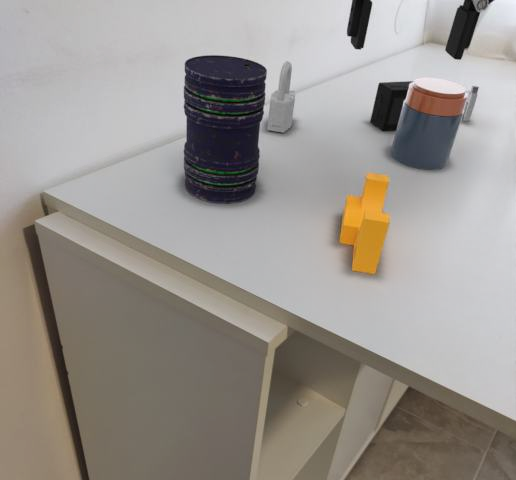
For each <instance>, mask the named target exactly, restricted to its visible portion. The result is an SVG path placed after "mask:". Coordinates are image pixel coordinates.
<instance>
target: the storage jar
mask: <svg viewBox="0 0 516 480" xmlns="http://www.w3.org/2000/svg"><path fill="white" fill-rule="evenodd" d="M184 73H185V75H184V84H183V85H184V86H183V99H184V101H183V103H184V104H183V110H184V116H185V117H186V141H185V143H184V146H183V169H184V176H185V178H184V188H185V190H186V192H187V193H188V194H190V195H191V196H192V197H194V198H196V199H198V200H202V201H204V202H208V203H214V204H235V203H241V202H244V201H247V200H249V199H251V198H252V197H253V196H254V195H255V194H256V191H257V183H256V182H257V179H258V174H259V169H260V157H261V156H260V155H261V153H260V151H261V150H260V147H259V141H260V139H259V138H260V129H261V122H262V121H263V119H264V114H265V111H264V109H265V107H264V106H265V103H266V80H267V73H268V69H267V68H266V66H265V65H263V64H261V63H259V62H257V61H254V60H251V59H247V58H243V57H238V56H231V55H218V54H215V55H214V54H211V55H209V54H207V55H197V56H194V57H191V58H190V57H189V59H186V60H185V62H184Z"/></svg>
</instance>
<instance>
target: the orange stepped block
mask: <svg viewBox="0 0 516 480" xmlns="http://www.w3.org/2000/svg"><path fill="white" fill-rule="evenodd" d="M389 179H390V177H389V175H388V174H380V173H374V172H368V171H367V172H366V175H365V181H364V184H363V188H362V193H361V196H357V195H351V194H347V195H346V200H345V203H344V204H345V205H344V209H343V214H342V219H341V226H340V227H341V228H340V233H339V234H340V235H339V236H340V237H339V242H338V243H339V244H343V245H348V246H353V250H352V251H353V252H352V263H351V271H353V272H358V273H364V274H370V275H376V272H377V268H378V265H379V261H380V258H381V255H382V251H383V248H384V243H385V240H386V236H387V234H388V229H389V227H390V224H391V223H390V213H385V212H383V210H384V206H385V205H384V204H385V199H386V195H387V191H388V187H389V184H390V181H389Z"/></svg>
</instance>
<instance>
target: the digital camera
mask: <svg viewBox="0 0 516 480" xmlns="http://www.w3.org/2000/svg"><path fill="white" fill-rule="evenodd" d="M413 81H414V80H410V81H409V80H408V81H386V82H378V85H377V89H376V94H375V98H374V103H373V108H372V112H371V115H370V120H369V121H370V122H369V123H370V124H372V125H373V126H375V127H376V128H378V129H379V130H381V131H382V132H386V131H396V128H397V124H398V120H399V117H400V113H401V109H402V105H403V101H404V100H405V99H406V95H407V91H408V87H409V84H410V83H412V82H413Z"/></svg>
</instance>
